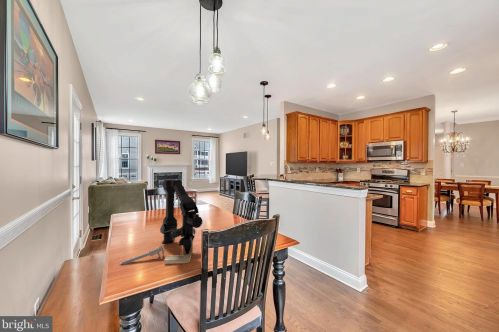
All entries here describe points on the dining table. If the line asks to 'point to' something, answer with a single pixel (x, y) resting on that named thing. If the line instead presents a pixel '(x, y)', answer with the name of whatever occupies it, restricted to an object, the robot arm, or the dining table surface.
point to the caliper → (151, 253)
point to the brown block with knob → (189, 251)
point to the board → (177, 259)
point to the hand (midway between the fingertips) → (187, 252)
